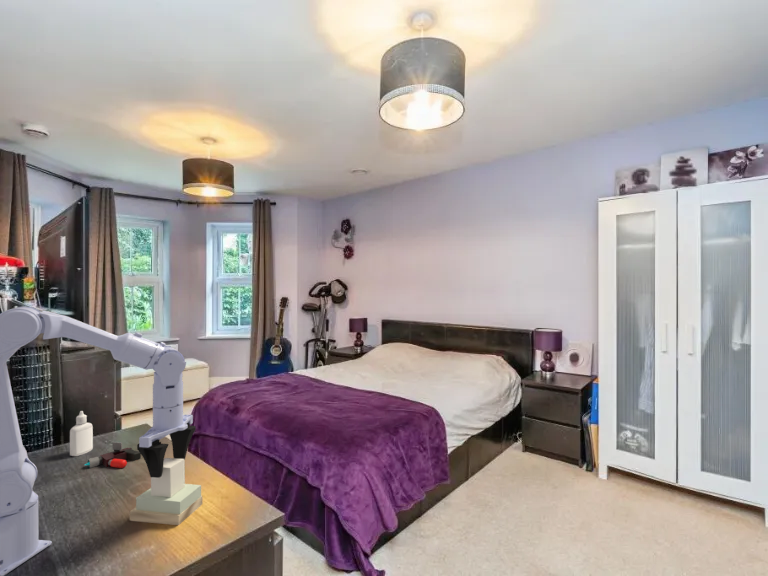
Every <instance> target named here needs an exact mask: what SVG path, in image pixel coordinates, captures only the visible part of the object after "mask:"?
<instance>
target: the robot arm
mask: <svg viewBox="0 0 768 576" xmlns="http://www.w3.org/2000/svg"><path fill="white" fill-rule="evenodd" d="M41 334H43V336H42V340H50V339H56V338H59V339H60V338H67V339H71V340H74V341H77V342H79V343H84V344H87V345H91V346H94V347H97V348H101V349H104V350H107V351H110V353H111V356H112V358H113V359H114V361H115V360H116V361H119V362H120V363H121V362H122V363H125V364H128V365H129V366H130V365H131V366H133V367H137V368H140V369H143V370H153V371H154V372H153V383H152V426H151V427H150V428H149V429H148V430H147V431H146V432H145V433H144V434H143V435H141V436H139V438H138V439H139V440H138V441H139V442H138V444H137V446H136V447H137V450H136V451H138V452H140V453H141V457H142V458H143V459H144V462H145V464H146V467H147V470H148V473H149V474H148V475H149V477H150V478H151V477H155V478H160V477H161V476H162V472H163V462H164V459H165V456H166V452H167V449H168V447H169V443H162V441H160V440H162V439H164V438H165V437H167V436H169V437H170V441H171V445H172V454H173V455H172V456H173V457H172V458H177V459H184V461H185V460H186V456H187V452H188V450H189V449H188V448H189V446H190V443H191V442H190V441H191V440H192V437H193V435H194V434H195V432H196V426H195V425H192V424H193V422H194V420H193V419H194V416H193V414H184V381H183V377H184V375H183V372H184V371H185V369H186V367H187V361H186V359H185V357H184V355H183V354H182V353H181V352H180V351H179V350H177V349H176V348H174V347H172V346H171V345H167V344H166V342H162V341H160V342H157V341H154V340H151V339H148V338H145V337H143V334H142V333H141V332H140V333H139V332H137V331H136V332H134V334H133V333H131V332H125V333H124V334H121V335H116V334H113V333H111V332H109V331H106V330H103V329H101V328H99V327H96V326H94V325H90V324H89V323H86V322H82V321H80V320H78V319H75V318H73V317H71V316H68V315H64V314H59V313H55V312H54V311H53V312H52V311H48V310H42V311H41V310H40V309H38V308H35V307H32V306H25V305H23V306H17V307H15V308H14V307H13V308H11V309H10V308H9V309H7V310H4V311H3V312H0V576H6V575H7V574H8V573H10V572H11V571H13V570H14V569H16V568H17V567H19V566H21V565H22V564H23V563H25V562H27V561H28V560H30V559H31V558H33V557H34V556H36V555H37V554H38V553H40V552H41V551H43V550H45V549H46V548H48V547H49V546H51V545H52V541H51V540H45V539H39V495H38V494H37V493H36V492H35V491H34V489H33V488H34V484H35V481H37V477H38V468H37V466H36V465H35V464H34V462H32V461H31V460H30V459H29V456H28V452H27V451H28V450H26V448H25V446H24V445H23V440H22V436H21V430H20V425H19V419H18V414H17V409H16V406H15V400H14V394H13V390H12V386H11V379H10V374H9V370H8V365H7V362H8V361H9V359H10V358H11V357H12V356H14V355H15V353H16V352H17V351H18V350H19V349H20V348H21V347H23V346H26V345H27V344H29V343H31V342H33V341H34V340H35V339H37V338H38V336H39V335H41Z"/></svg>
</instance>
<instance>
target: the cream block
mask: <svg viewBox="0 0 768 576" xmlns="http://www.w3.org/2000/svg"><path fill="white" fill-rule="evenodd" d="M185 463H186V462H185V460H184V459H177V458H174V457H164V462H163V472H162V476H161V477H160V478H155V477H150V488H151V496H163V497H172V496H173V495H174V494H176V493H177V492H178V491H180V490H181V489H182V488H184V487H185V484H186V477H185V474H186V473H185V472H186V471H185V465H186V464H185Z"/></svg>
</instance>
